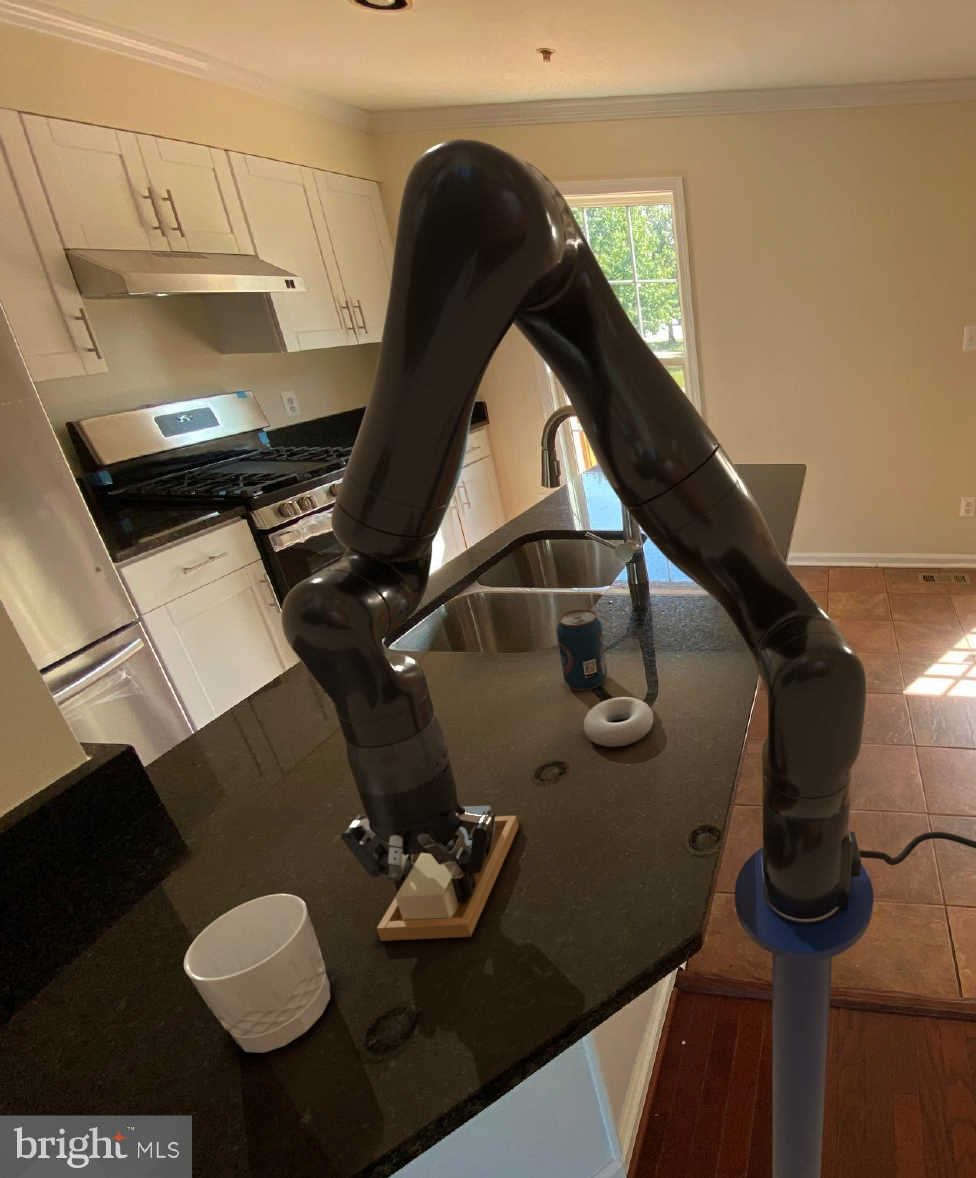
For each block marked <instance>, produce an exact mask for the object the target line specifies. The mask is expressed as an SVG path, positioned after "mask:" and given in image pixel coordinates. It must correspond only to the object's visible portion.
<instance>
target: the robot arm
mask: <svg viewBox="0 0 976 1178" xmlns="http://www.w3.org/2000/svg"><path fill="white" fill-rule="evenodd" d="M392 258H393V259H392V267H391V269H392V270H391V277H390V285H389V294H388V301H387V307H386V313H385V318H384V324H383V331H382V335H381V341H380V345H379V346H380V347H379V352H378V357H377V361H376V362H377V363H376V367H375V371H374V376H373V380H372V383H371V389H370V392H369V396H368V398H367V399H368V400H367V404H366V407H365V411H364V414H363V417H362V420H361V424H360V427H359V430H358V433H357V436H356V439H355V441H354V444H353V447H352V450H351V453H350V456H349V458H348V461H347V464H346V466H345V470H344V474H343V476H342V480H341V481H340V485H339V488H338V491H337V495H336V498H335V501H334V504H333V507H332V513H331V519H330V520H331V523H330V525H331V530H332V532H333V535H334V536H335V538H336V539H337V540H338V542H339V543H340V544H341V545H342V546H343V547H344V548H346V549H345V552H344V553H343V555H342V557H341V558H340V559H339V560H338V561H336V562H335V563H332V564H331V565H329V566H327V567H325V568H323V569H322V570H320V571H318V572H316V573H314V574H312V575H310V576H309V577H307V578H305V579H303V580H302V581H299V582H298V583H297V584H296V585H295V586H293V587H292V588H291V589H289V591H288V592H287V594H286V596H285V598H284V600H283V603H282V607H281V613H280V614H281V615H280V617H281V618H280V619H281V627H282V632H283V635H284V638H285V640H286V642H287V644H288V646H289V647H290V649H291V650H292V652H293V653H294V654H295V655H296V656H297V658H298V659H299V661H300V662H301V663H302V664H303V666H304V667H305V668H306V670H307V671H308V672H309V673H310V675H311V676H312V677H313V678H314V680H315V681H316V682H317V684H318V685H319V686H320V688H321V689H322V690H323V691H324V692H325V693H326V695H327V696H328V697H329V698H330V700H331V701H332V703H333V705H334V709H335V713H336V716H337V719H338V723H339V725H340V729H341V731H342V735H343V738H344V741H345V746H346V755H347V760H348V764H349V767H350V771H351V773H352V777H353V780H354V783H355V786H356V789H357V792H358V795H359V798H360V801H361V804H362V807H363V809H364V813H365V815H364V814H357V815H356V816H355V817H354V818H353V820H352V821H351V823H349V825H348V826H347V828H346V829H345V830H344V832H343V833H342V834H341V835H340V838H341V840H342V841H343V843H344V845H346V846H347V848H348V849H349V850H350V852H351V853H352V854H353V856H354V857H355V859H357V861H358V862H359V864H360V865H361V866H362V868H363V869H364V870H365V871H366V873H367V874H368V875H369V876H370V877H372V878H378V877H380V876H381V875H385V876H387V877H388V879H389V880H391V881H392V882H393V883H394V886H395V890H396V892H397V893H398V891H399V890H400V888H401V886H402V885H403V883H404V881H405V879H406V878H407V876H408V874H409V873H410V871H411V869H412V868H413V866H414V864H415V863H416V862H412V861H413V859H414V855H417V854H421V853H427V854H431V855H432V856H433V858H434V859H435V860H436V862H437V863H438V864H439V865H445V867H446V868H447V870H448V871H449V872H450V874H451V875H452V878H451V879H452V883H453V887H454V890H455V894H456V898H457V901H458V903H466V902H467V900H468V897H471V895H472V893H473V891H474V888H475V886H476V883H477V881H476V879H475V874H474V873H479V872H480V871H481V869H482V867H483V864H484V861H485V859H486V857H487V856H488V854H489V852H490V847H491V841H492V834H493V828H494V821H495V816H496V813H495V812H494V811H493V810H492V811H490V810H486V811H484V812H483V814H482V816H479V815H474V814H468V813H466V811H465V809H464V808H463V807H464V806H462V805H461V804H460V802H459V801H458V793H457V792H458V791H457V784H456V780H455V776H454V773H453V769H452V764H451V760H450V756H449V748H448V746H447V744H446V741H445V740H446V739H445V736H444V733H443V730H442V727H441V725H440V723H439V721H438V719H437V715H436V713H435V711H434V706H433V702H432V701H433V700H432V698H431V694H430V689H429V686H428V682H427V678H426V676H425V673H424V671H423V669H422V666H421V665H420V663H419V662H418V661H417V660H416V659H414V657H411V656H409V655H407V654H401V653H385V650H384V647H383V640H384V639H386V638H387V637H388V636H389V635H390V634H392V633H393V632H394V631H395V630H396V629H398V628H399V627H401V626H402V625H403V624H405V622H407V621H408V620H409V619H410V618H411V616H413V614H414V613H415V612H416V611H417V609H418V607H419V605H420V603H421V602H422V600H423V597H424V596H425V593H426V590H427V587H428V583H429V577H430V572H431V565H432V557H433V542H434V540H435V538H436V536H437V534H438V533H439V530H440V527H441V525H442V523H443V521H444V518H445V515H446V513H447V511H448V508H449V506H450V503H451V500H452V498H453V496H454V493H455V491H456V488H457V485H458V483H459V480H460V476H461V474H462V469H463V466H464V461H465V457H466V452H467V447H468V440H469V435H470V434H469V433H470V427H471V419H472V415H473V411H474V406H475V403H476V400H477V397H478V393H479V390H480V388H481V385H482V382H483V379H484V378H485V375H486V372H487V370H488V368H489V366H490V364H491V361H492V359H493V358H494V355H495V354H496V352H497V350H498V348H499V347H500V345H501V343H502V341H503V340H504V338H505V336H506V335H507V334H508V332H509V330H510V329H511V327H512V325H514V326H515V327H516V329H517V330H519V332H520V333H521V334H522V335H523V337H524V338H525V339H526V340H527V341H528V343H529V344H530V346H532V347H533V349H534V350H535V351H536V352H537V354H538V355H539V356H540V357H541V358H542V360H543V361H544V363H545V364H546V365H547V366H548V368H549V369H550V371H551V372H552V373H553V375H554V376H555V378H556V379H557V381H558V383H559V384H560V385H561V387H562V389H563V391H564V393H565V394H566V397H567V398H568V401H569V402H570V405H571V407H572V409H573V411H574V413H575V416H576V417H577V420H578V422H579V424H580V426H581V429H582V431H583V433H584V436H585V438H586V440H587V443H588V445H589V448H590V449H591V451H592V453H593V456H594V457H595V460H596V462H597V464H598V466H599V468H600V470H601V472H602V474H603V475H604V477H605V479H606V481H607V482H608V484H609V485H610V487H611V489H612V490H613V492H614V493H615V494H616V497H617V498H618V499H619V500H620V502H621V504H622V505H623V507H625V509H626V510H627V512H628V513H629V514H630V516H631V517H632V518H633V519H634V521H635V522H636V523H637V525H638V526H639V527H640V528H641V530H642V531H643V533H644V534H645V535H646V536H647V538H648V539H649V540H650V541H651V543H653V545H654V546H655V547H656V549H658V550H659V552H661V553H662V555H663V556H664V557H665V558H666V559H667V560H668V561H670V563H671V564H673V566H675V567H676V568H677V569H678V570H679V571H680V572H681V573H683V574H684V575H685V576H686V577H688V578H689V579H690V580H692V581H693V582H694V583H695V584H696V585H698V586H699V587H700V588H701V589H703V590H704V591H705V592H707V594H709V595H710V596H711V597H712V598H713V599H714V600H715V601H716V602H717V603H718V604H719V605H720V607H721V608H722V609H723V610H724V612H725V613H726V614H727V616H728V617H729V618H730V621H731V622H732V624H733V625H734V627H735V628H736V630H737V632H738V633H739V635H740V636H741V638H742V640H743V641H744V644H745V645H746V646H747V648H748V650H749V652H750V653H751V656H752V658H753V660H754V663H755V666H756V668H757V671H758V673H759V677H760V679H761V682H762V685H763V688H764V692H765V694H766V697H767V737H766V738H765V740H764V742H763V744H762V750H761V769H762V771H761V772H762V773H761V774H762V775H761V776H762V847H763V863H762V871H763V883H762V890H763V897H764V900H765V902H766V904H767V906H768V908H769V909H770V910H771V911H772V912H773V913H774V914H775V915H776V916H777V917H779V918H780V919H782V920H784V921H786V922H789V923H792V924H796V925H815V924H819V923H822V922H825V921H827V920H828V919H830V918H832V917H833V916H834V915H835V914H836V913H837V912H839V911H847V910H848V905H849V890H850V877H860V868H861V864H862V859H878V860H883V861H884V862H885V863H886V864H888V865H889V866H896V865H898V864H899V865H900V863H902V862H903V861H905V860H906V859H907V858H908V856H909V855H910V854H911V853H912V852H913V850H914V849H915V848H916V847H917V846H918V845H919V844H921V843H922V842H925V841H927V840H934V839H935V840H936V839H939V840H945V841H946V840H948V841H951V842H955V843H958V844H962V845H964V846H967V847H970V848H973V849H976V841H975V840H972V839H969V838H967V837H964V836H961V835H958V834H954V833H949V832H943V831H931V832H925V833H921V834H920V835H919V834H918V835H917V836H916V837H914V838H913V839H912V840H911V841H910V842H909V843H908V844H907V845H906V846H905V848H903V850H902V851H901V852H900V853H899V854H898V855H897V856H894V857H891V855H890V854H888V853H886V852H882V851H877V850H863V849H859V845H858V840H857V835H856V832H855V831H854V830H853V831H850V818H851V817H850V815H851V802H852V801H851V798H852V784H853V783H852V782H853V770H854V769H853V768H854V765H855V763H856V761H857V759H858V758H859V755H860V752H861V748H862V741H863V733H864V725H865V717H866V708H867V707H866V706H867V695H868V693H867V688H868V686H867V675H866V670H865V666H864V664H863V662H862V660H861V658H860V657H859V655H858V654H857V652H856V651H855V649H854V647H853V646H852V644H851V643H850V641H849V640H848V638H847V636H846V635H845V633H844V632H843V630H842V629H841V628H840V627H839V626H838V624H837V623H836V622H835V621H834V620H833V619H832V618H831V617H830V616H829V615H828V614H827V612H825V610H824V609H823V608H822V606H820V604H818V602H817V601H816V600H815V598H814V597H812V595H811V594H810V593H809V592H808V590H807V589H806V587H805V586H803V584H802V583H801V582H800V581H799V579H798V578H797V577H796V575H795V574H794V573H793V571H792V570H791V569H790V567H789V566H788V564H787V563H786V561H785V560H784V558H783V556H782V554H781V553H780V551H779V549H778V547H777V544H776V542H775V540H774V537H773V536H772V533H771V531H770V528H769V526H768V523H767V521H766V520H765V517H764V515H763V513H762V511H761V509H760V507H759V505H758V504H757V502H756V499H755V498H754V496H753V494H752V492H751V490H750V489H749V487H748V485H747V483H746V482H745V480H744V478H743V477H742V475H741V474H740V471H739V470H738V468H737V467H736V465H735V464H734V462H733V461H732V459H731V457H730V456H729V455H728V453H727V451H726V450H725V449H724V448H723V446H722V444H721V443H720V441H719V440H718V438H717V437H716V435H715V434H714V433H713V431H712V429H711V428H710V426H709V425H708V424H707V423H706V421H705V420H704V418H703V417H702V416H701V414H700V413H699V411H698V410H697V409H696V407H695V406H694V404H693V403H692V401H690V399H689V398H688V396H687V394H686V393H685V392H684V390H683V389H682V388H681V386H680V385H679V384H678V383H677V381H676V379H675V378H674V376H673V375H671V373H670V372H669V371H668V369H667V368H666V367H665V365H664V364H663V363H662V361H661V360H660V359H659V358H658V356H657V355H656V354H655V352H653V350H652V349H651V348H650V346H649V344H647V342H646V341H645V340H644V338H643V337H642V336H641V335H640V333H639V331H638V330H637V328H636V327H635V326H634V323H633V322H632V320H631V319H630V318H629V316H628V314H627V312H626V311H625V309H624V307H623V305H622V304H621V302H620V300H619V299H618V296H617V295H616V293H615V291H614V290H613V288H612V286H611V283H610V282H609V280H608V278H607V277H606V275H605V273H604V271H603V269H602V267H601V266H600V264H599V262H598V259H597V258H596V256H595V253H594V252H593V250H592V248H591V246H590V244H589V243H588V240H587V239H586V237H585V235H584V233H583V230H582V229H581V227H580V225H579V223H578V221H577V219H576V217H575V215H574V212H572V209H571V207H570V206H569V204H568V202H567V200H566V199H565V197H564V195H563V194H562V193H561V191H560V190H559V189H558V187H557V186H556V185H555V183H554V182H553V181H552V180H551V179H549V177H548V176H547V175H545V174H544V173H543V172H542V170H540V169H538V168H537V167H535V166H534V165H533V164H531V163H529V162H528V161H527V160H524V159H522V158H521V157H519V156H517V155H515V154H514V153H511V152H509V151H507V150H505V149H503V148H501V147H499V146H497V145H494V144H492V143H489V142H485V141H482V140H477V139H465V138H457V139H452V140H446V141H445V140H444V141H442V142H440V143H437V144H436V145H434V146H431V147H430V148H429V149H427V150H426V151H425V152H424V153H422V154H421V156H419V157H418V158H417V160H416V161H415V162H414V163H413V165H412V167H411V169H410V170H409V172H408V174H407V177H406V180H405V183H404V186H403V190H402V194H401V200H400V205H399V212H398V217H397V227H396V233H395V240H394V250H393V257H392ZM460 827H463V828H465V829H466V831H467V835H468V836H469V837H468V840H470V841H472V846H471V851H470V849H469V848H468V846H467V845H466V843H465V836H464V834H463V833H462V831H461V830H460ZM374 854H375V855H376V857H375V855H374ZM457 857H458V858H457ZM761 861H762V853H761Z"/></svg>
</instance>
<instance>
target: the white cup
mask: <svg viewBox="0 0 976 1178" xmlns="http://www.w3.org/2000/svg"><path fill="white" fill-rule="evenodd" d="M321 951H322V950H321V948H320V943H319V940H318V938H317V934H316V932H315V929H314V926H313V922H312V920H311V917H310V914H309V911H308V907H307V905H306V902H305V900H303V899H302V898H300V897H299V896H297V895H294V894H289V893H275V894H274V893H273V894H269V895H264V896H261V897H257V898H254V899H252V900H249V901H246V902H243V903H242V904H240V905H238V906H236V907H234V908H232V909H231V910H228V911H227V912H226V913H223V914H222V915H220V916H219V917H217V918H216V919H215V920H214V921H212V922H211V923H210V924H209V925H208V926H206V927H205V928H204V929H202V931H201V932H200V933H199V934H198V935H197V936H196V938H195V939H194V940H193V941H192V943H191V944H190V946H189V947H188V949H187V951H186V953H185V955H184V959H183V969H184V972H185V974H186V975H187V977H188V978H189V979H190V981H191V982H192V984H193V986H194V987H195V988H196V990H197V992H198V993H199V994H200V996H201V998H202V999H203V1001H204V1002H205V1004H206V1005H207V1006H208V1008H209V1010H211V1012H212V1013H213V1015H214V1016H215V1017H216V1019H217V1020H218V1021H219V1023H220V1024H221V1026H222V1027H223V1028H224V1030H225V1031H227V1032H229V1034H230V1035H231V1037H232V1038H233V1039H234V1041H235V1043H236V1045H238V1046H239V1047H240V1048H241V1049H242V1050H243V1051H244V1052H245V1053H258V1054H265V1053H267V1052H270V1051H273V1050H276V1049H279V1048H282V1047H285V1046H287V1045H288V1044H290V1043H291V1042H293V1041H295V1040H296V1039H297V1038H299V1037H301V1036H302V1035H304V1034H305V1033H306V1032H308V1031H309V1029H310V1028H312V1026H313V1025H314V1024H315V1023H316V1022H317V1021H318V1020H319V1019H320V1018H321V1017H322V1016H323V1014H324V1012H325V1010H326V1009H327V1008H326V1007H327V1006H328V1003H329V1002H330V1000H331V984H330V981H329V978H328V974H327V972H326V965H325V962H324V957H323V955H322V952H321Z"/></svg>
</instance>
